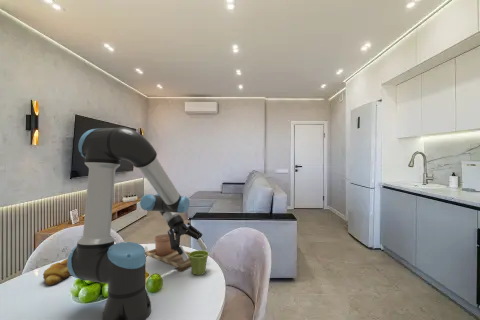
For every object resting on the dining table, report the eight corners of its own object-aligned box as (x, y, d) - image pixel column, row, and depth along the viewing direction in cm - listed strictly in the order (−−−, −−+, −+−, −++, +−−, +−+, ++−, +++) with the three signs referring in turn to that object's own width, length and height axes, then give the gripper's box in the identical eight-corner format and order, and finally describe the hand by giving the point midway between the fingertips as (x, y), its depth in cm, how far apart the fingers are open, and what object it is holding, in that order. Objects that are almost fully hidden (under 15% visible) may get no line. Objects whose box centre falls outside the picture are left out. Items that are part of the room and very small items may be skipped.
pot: (177, 252, 138) (177, 236, 138) (162, 258, 130) (161, 241, 130) (166, 248, 144) (166, 233, 144) (150, 254, 136) (150, 237, 136)
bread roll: (57, 287, 104) (57, 268, 104) (34, 287, 104) (33, 268, 104) (77, 273, 117) (77, 255, 117) (56, 273, 117) (56, 256, 117)
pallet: (202, 261, 129) (202, 256, 129) (180, 271, 118) (180, 266, 118) (166, 249, 147) (166, 244, 147) (144, 256, 136) (144, 252, 136)
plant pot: (186, 270, 120) (186, 252, 120) (205, 266, 124) (205, 248, 124) (191, 278, 111) (191, 259, 111) (211, 274, 115) (211, 255, 115)
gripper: (186, 218, 139) (208, 250, 132) (149, 229, 118) (173, 268, 110) (193, 209, 136) (216, 242, 129) (157, 219, 115) (182, 259, 108)
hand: (196, 254), depth 120 cm, fingers open, 13 cm apart
